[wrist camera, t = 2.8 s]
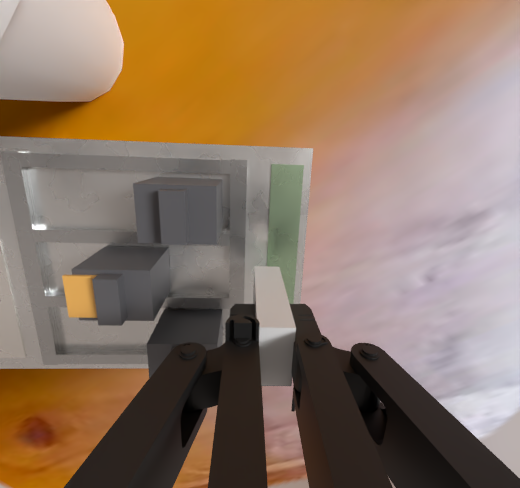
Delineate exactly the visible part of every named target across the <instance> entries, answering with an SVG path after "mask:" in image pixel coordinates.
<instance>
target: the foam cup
mask: <svg viewBox="0 0 520 488" xmlns="http://www.w3.org/2000/svg"><path fill="white" fill-rule="evenodd" d="M123 47H124V42H123V39H122V36H121V33H120V30H119V27H118V24H117V21H116V18H115V15H114V14H113V13H112V10H111V8H110V6H109V5H108V3H107V2H106V0H0V99H8V100H31V101H55V102H90V101H92V100H94V99H95V98H97V97H99V96H101V95H102V94H104V93H106V92H108V91H109V90H110V89H111V87H112V86H113V84H114V82H115V81H116V79H117V77H118V75H119V74H120V72H121V70H122V61H123Z"/></svg>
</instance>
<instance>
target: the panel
mask: <svg viewBox="0 0 520 488" xmlns="http://www.w3.org/2000/svg"><path fill="white" fill-rule="evenodd" d="M312 155H313V149H312V148H287V147H261V146H235V145H210V144H184V143H159V142H133V141H108V140H82V139H57V138H31V137H6V136H0V369H70V368H149V367H148V355H147V342H148V340H149V338H150V336H151V335H152V333H153V331H154V329H155V327H156V325H157V323H158V321H159V319H160V317H161V315H162V313H163V311H164V309H214V310H222V345H223V344H224V343H225V323H226V321H227V319H228V318H230V309H231V308H232V307H233V306H234V304H253V288H254V266H268V267H280V271H281V275H282V278H283V282H284V286H285V289H286V293H287V297H288V300H289V304H300V299H301V287H302V275H303V263H304V251H305V239H306V227H307V215H308V203H309V191H310V179H311V167H312ZM154 177H174V178H204V179H222V229H221V233H220V236H219V239H218V242H217V245H208V244H187V245H163V244H159V243H138V238H137V226H136V214H135V203H134V191H133V183H136V182H140V181H143V180H147V179H151V178H154ZM105 246H115V247H165V248H169V266H170V285H171V290H170V292H169V294H168V296H167V297H166V299H165V301H164V303H163V305H162V307H161V308H160V310H159V312H158V314H157V316H156V318H155V320H154V321H125V322H124V323H123V325H122V326H110V325H98V321H85V320H79V318H72V317H69V315H68V309H67V303H66V297H65V291H64V285H63V279H62V276H63V275H72V270H71V269H73V268H74V267H76V266H77V265H79V264H80V263H82V262H83V261H84V260H86V259H87V258H89V257H90V256H92V255H93V254H95V253H96V252H98V251H99V250H101V249H102V248H104V247H105Z"/></svg>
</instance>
